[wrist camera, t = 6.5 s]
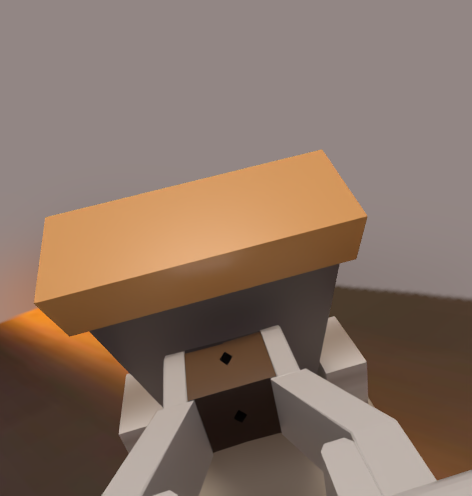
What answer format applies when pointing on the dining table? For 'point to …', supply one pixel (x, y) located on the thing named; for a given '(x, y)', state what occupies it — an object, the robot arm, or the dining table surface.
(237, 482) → the switch base
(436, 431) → the dining table surface
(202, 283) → the rocker lever
